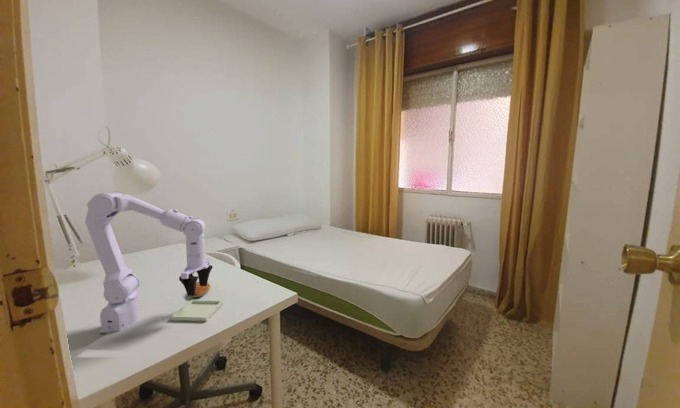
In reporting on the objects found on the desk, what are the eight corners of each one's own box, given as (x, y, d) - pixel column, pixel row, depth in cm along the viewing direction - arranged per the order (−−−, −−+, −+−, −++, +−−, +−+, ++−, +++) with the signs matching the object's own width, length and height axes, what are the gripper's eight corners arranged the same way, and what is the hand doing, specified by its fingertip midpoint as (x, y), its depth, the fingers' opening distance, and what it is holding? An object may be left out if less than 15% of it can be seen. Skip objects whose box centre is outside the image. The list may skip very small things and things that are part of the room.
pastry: (206, 298, 104) (205, 289, 104) (187, 299, 102) (186, 290, 102) (211, 287, 113) (210, 279, 113) (193, 288, 111) (193, 280, 111)
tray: (206, 321, 88) (206, 317, 88) (171, 320, 88) (171, 316, 88) (223, 304, 100) (222, 300, 100) (192, 303, 100) (191, 299, 100)
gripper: (195, 260, 84) (197, 300, 86) (217, 247, 99) (218, 282, 100) (173, 259, 84) (175, 299, 86) (199, 247, 99) (200, 281, 100)
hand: (197, 290), depth 93 cm, fingers open, 7 cm apart
